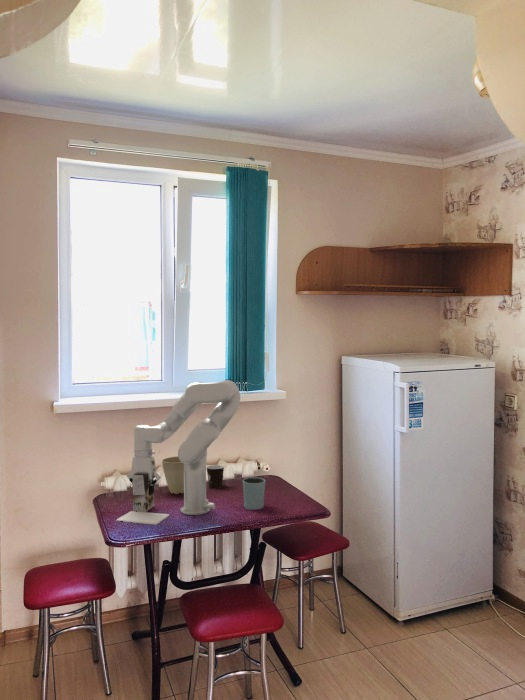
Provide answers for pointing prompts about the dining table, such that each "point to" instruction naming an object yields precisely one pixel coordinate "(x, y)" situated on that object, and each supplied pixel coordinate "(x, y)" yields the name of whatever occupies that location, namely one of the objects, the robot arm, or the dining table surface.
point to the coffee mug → (215, 475)
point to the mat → (143, 517)
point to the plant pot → (174, 474)
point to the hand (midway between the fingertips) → (143, 493)
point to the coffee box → (142, 493)
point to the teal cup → (253, 493)
